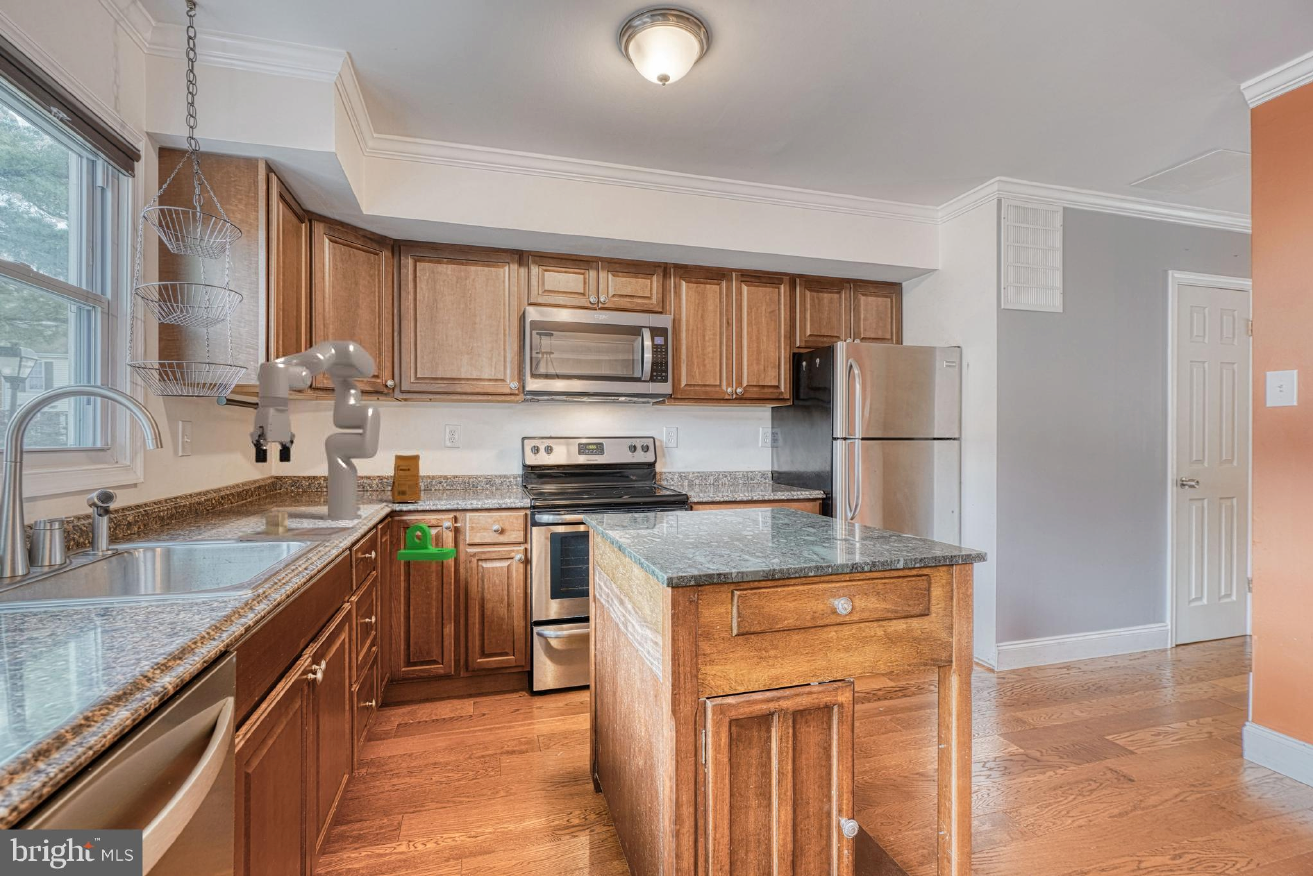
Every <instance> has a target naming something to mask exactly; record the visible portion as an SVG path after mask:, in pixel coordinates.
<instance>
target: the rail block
mask: <svg viewBox="0 0 1313 876" xmlns="http://www.w3.org/2000/svg"><path fill="white" fill-rule="evenodd" d="M356 533H358V527H356V526H355V527H354V526H343V527H342V526H325V527H324V526H323V527H321V526H319V527H316V526H315V527H314V526H313V527H287V532H286V533H283V534H271V535H265V529H262V530H258V531H253V532H249V533H244V534H241V535H238V536H237V541H238V540H255V541H254V542H323V541H324V542H331V541H334V540H337V539H340V538H344V537H347V536H350V535H353V534H356ZM256 540H257V541H256Z"/></svg>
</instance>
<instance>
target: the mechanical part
mask: <svg viewBox="0 0 1313 876" xmlns="http://www.w3.org/2000/svg"><path fill="white" fill-rule="evenodd" d="M417 533H419V534H421V540H418V539H417V538H416V534H417ZM396 553H397V556H396V557H397V558H396V559H397V561H409V562H410V561H416V562H417V561H418V562H443V561H447V560H451V559H454V558H456V557H457V548H455V547H453V548H451V547H450V548H448V547H434V546H432V531H431V529H430V528H429V527H428V525H427V524H424V523H417V524H413V525H411V526H410V527H409V528H408V529H407V530H406V534H405V549H402V550H399V551H397V552H396Z"/></svg>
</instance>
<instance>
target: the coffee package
mask: <svg viewBox="0 0 1313 876" xmlns="http://www.w3.org/2000/svg"><path fill="white" fill-rule="evenodd" d="M420 460H421V456H420V454H408V455H406V454H405V455H403V454H402V455H401V454H395V455H394V463H393V465H394V467H393V471H394V472H393V479H392V483H391V491H390V492H391V502H408V501H419V502H420V501H421V497H422V496H421V487H420Z"/></svg>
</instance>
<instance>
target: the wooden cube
mask: <svg viewBox="0 0 1313 876" xmlns="http://www.w3.org/2000/svg"><path fill="white" fill-rule="evenodd" d="M264 516H265V519H264V520H265V526H264V527H265V528H264V530H265V535H271V534H283V533H286V532H287V528H288V512H284V511H283V512H281V511H280V512H275V511H274V512H269V513H265V515H264Z"/></svg>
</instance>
